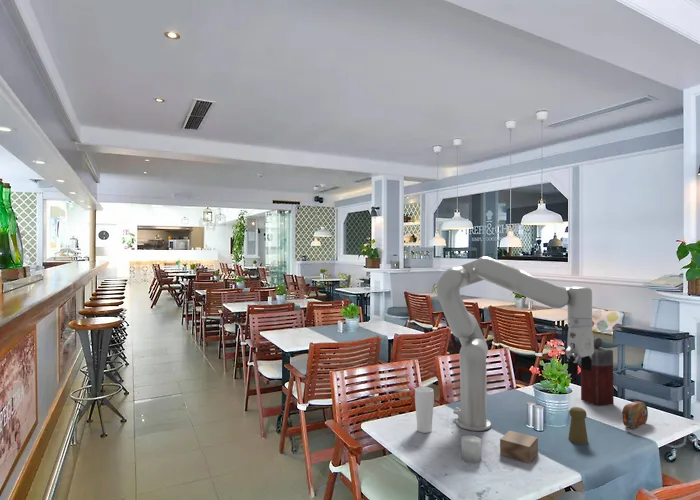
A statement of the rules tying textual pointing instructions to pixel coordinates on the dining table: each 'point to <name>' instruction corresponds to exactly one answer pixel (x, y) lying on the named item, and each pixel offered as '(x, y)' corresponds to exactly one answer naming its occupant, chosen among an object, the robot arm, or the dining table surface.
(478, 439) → the grey rounded block
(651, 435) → the dining table surface
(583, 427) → the cork
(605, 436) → the dining table surface
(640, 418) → the tin
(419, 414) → the drinking glass
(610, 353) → the dark red canister
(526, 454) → the block
